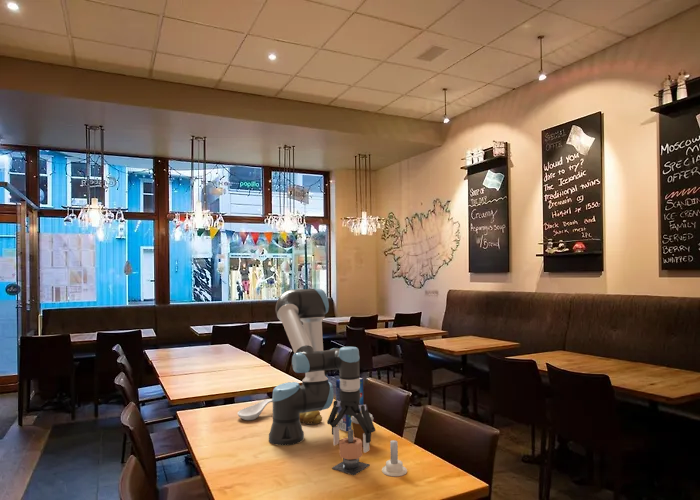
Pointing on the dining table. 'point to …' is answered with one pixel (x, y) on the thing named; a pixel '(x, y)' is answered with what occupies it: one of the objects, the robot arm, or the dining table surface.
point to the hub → (394, 462)
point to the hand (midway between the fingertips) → (351, 447)
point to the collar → (350, 448)
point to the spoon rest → (253, 410)
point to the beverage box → (346, 419)
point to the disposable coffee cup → (358, 428)
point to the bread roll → (311, 417)
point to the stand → (351, 461)
